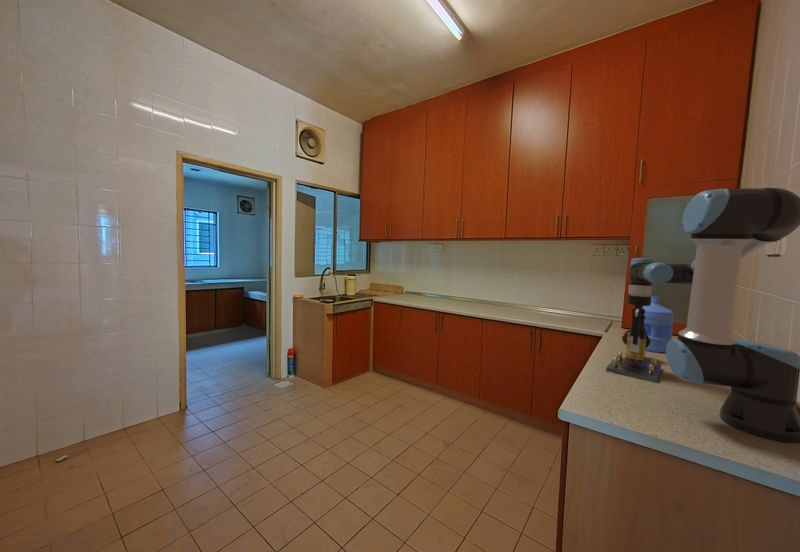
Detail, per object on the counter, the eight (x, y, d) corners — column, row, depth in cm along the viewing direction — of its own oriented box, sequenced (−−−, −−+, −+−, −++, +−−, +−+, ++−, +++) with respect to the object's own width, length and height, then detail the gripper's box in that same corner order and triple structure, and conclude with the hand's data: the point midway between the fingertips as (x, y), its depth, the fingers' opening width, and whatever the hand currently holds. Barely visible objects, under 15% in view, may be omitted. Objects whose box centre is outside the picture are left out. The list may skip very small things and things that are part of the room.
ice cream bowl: (650, 358, 146) (652, 327, 145) (648, 363, 138) (650, 330, 137) (622, 353, 153) (625, 323, 152) (619, 357, 145) (621, 326, 144)
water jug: (632, 343, 174) (635, 294, 172) (668, 348, 165) (673, 296, 163) (633, 349, 161) (637, 296, 160) (672, 355, 152) (677, 299, 150)
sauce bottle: (621, 359, 132) (624, 313, 131) (636, 359, 132) (639, 313, 131) (632, 364, 125) (636, 315, 124) (648, 364, 125) (652, 316, 124)
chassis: (656, 382, 115) (657, 369, 115) (606, 371, 126) (607, 359, 126) (661, 368, 131) (661, 357, 131) (615, 359, 142) (616, 348, 142)
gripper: (649, 297, 117) (644, 357, 119) (653, 294, 131) (649, 348, 133) (624, 295, 123) (620, 352, 124) (631, 293, 136) (628, 344, 138)
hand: (635, 350), depth 128 cm, fingers closed on sauce bottle, 6 cm apart
